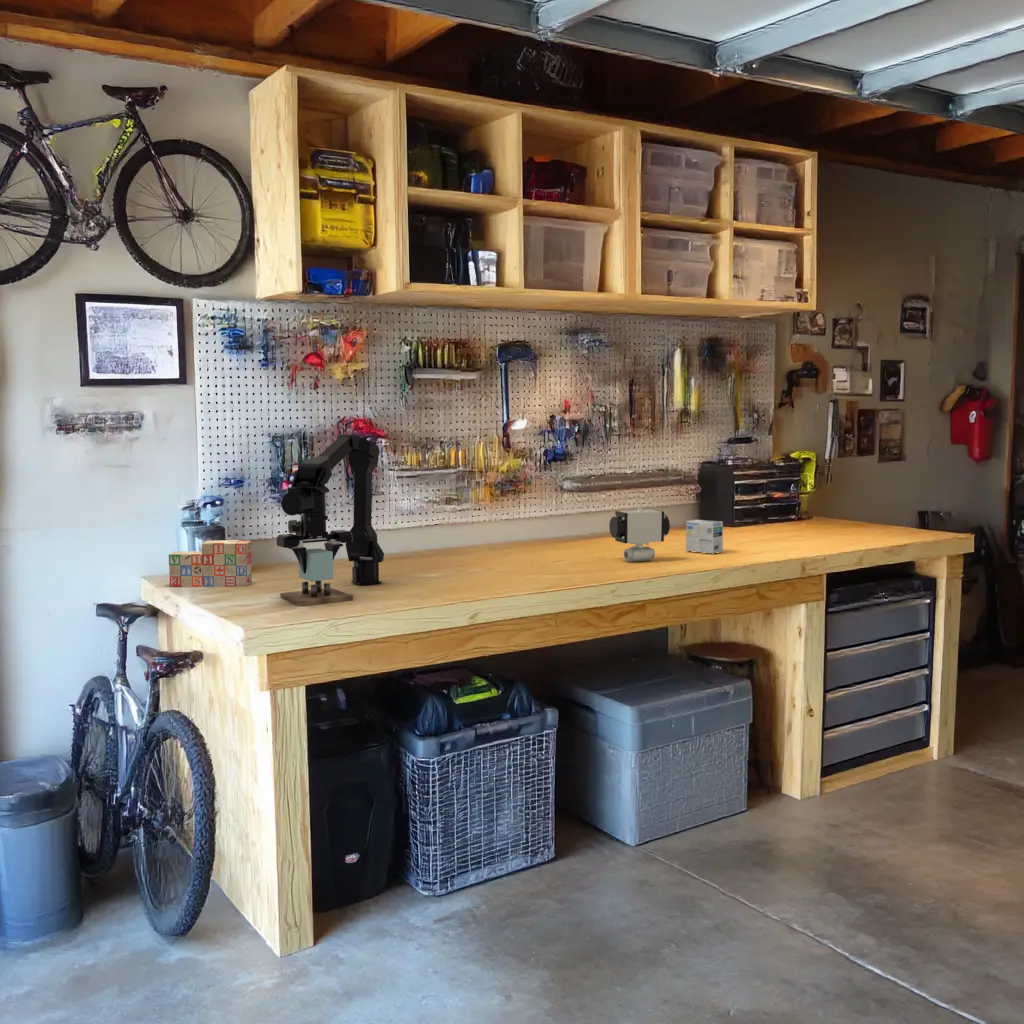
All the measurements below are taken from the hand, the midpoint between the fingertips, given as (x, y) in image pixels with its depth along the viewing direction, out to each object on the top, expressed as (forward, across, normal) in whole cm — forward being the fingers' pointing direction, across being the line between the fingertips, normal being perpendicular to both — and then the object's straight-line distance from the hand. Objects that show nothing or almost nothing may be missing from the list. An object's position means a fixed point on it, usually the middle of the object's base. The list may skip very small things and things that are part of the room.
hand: (315, 572), depth 260 cm
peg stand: (+7, 0, 0) cm, 7 cm away
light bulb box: (+8, -141, -3) cm, 141 cm away
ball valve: (+7, -110, -1) cm, 110 cm away
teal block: (+2, 0, 0) cm, 2 cm away
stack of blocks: (+7, +16, -37) cm, 41 cm away
